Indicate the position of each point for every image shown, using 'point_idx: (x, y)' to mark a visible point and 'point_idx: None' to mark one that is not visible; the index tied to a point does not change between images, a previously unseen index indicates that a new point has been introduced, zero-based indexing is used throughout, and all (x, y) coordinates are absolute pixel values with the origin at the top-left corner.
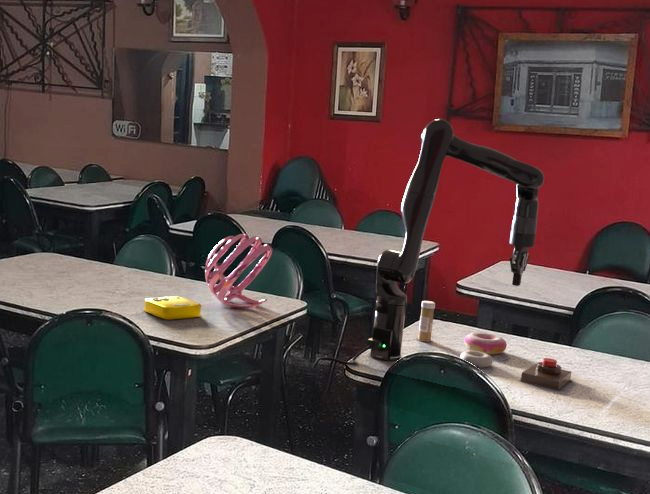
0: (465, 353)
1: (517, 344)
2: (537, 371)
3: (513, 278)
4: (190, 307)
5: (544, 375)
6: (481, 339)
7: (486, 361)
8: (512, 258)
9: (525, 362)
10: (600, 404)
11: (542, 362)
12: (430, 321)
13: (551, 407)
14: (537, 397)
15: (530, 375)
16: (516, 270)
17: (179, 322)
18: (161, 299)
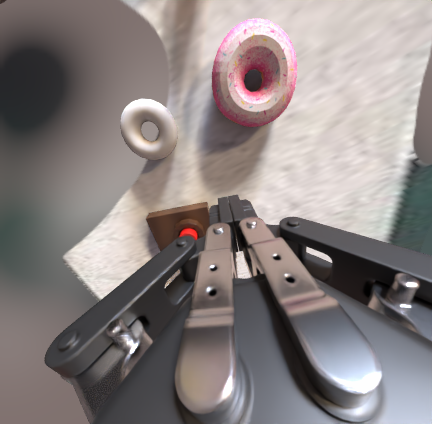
0: (127, 115)
1: (356, 94)
2: (172, 225)
3: (209, 218)
4: None
5: (165, 237)
6: (225, 85)
7: (144, 157)
8: (61, 368)
9: (243, 170)
10: (166, 282)
11: (192, 225)
12: None
13: (106, 267)
14: (118, 248)
15: (150, 227)
16: (181, 271)
17: None
18: None
